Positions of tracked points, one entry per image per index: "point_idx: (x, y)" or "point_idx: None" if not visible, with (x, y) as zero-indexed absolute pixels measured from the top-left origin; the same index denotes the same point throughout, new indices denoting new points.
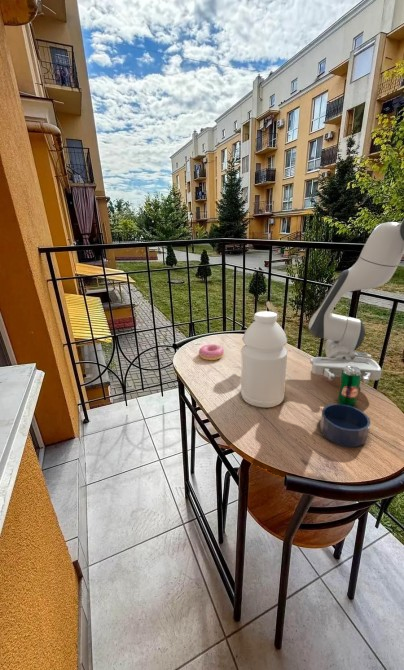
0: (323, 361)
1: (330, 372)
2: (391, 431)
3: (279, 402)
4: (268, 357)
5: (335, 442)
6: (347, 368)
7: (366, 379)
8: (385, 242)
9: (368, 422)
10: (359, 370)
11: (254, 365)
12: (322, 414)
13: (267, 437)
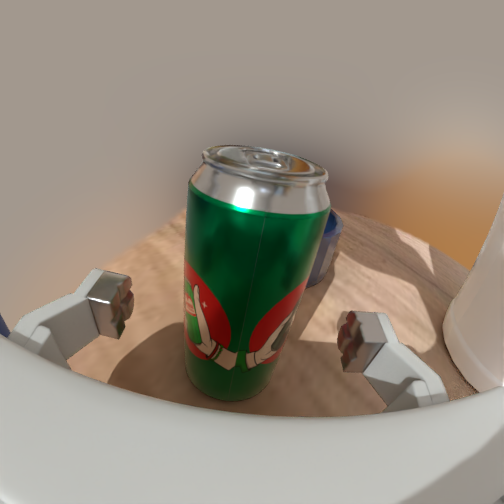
0: (495, 484)
1: (392, 346)
2: (143, 252)
3: (445, 319)
4: None
5: None
6: (301, 164)
7: (111, 272)
8: None
9: None
10: (212, 152)
11: None
12: (338, 216)
13: (402, 249)
